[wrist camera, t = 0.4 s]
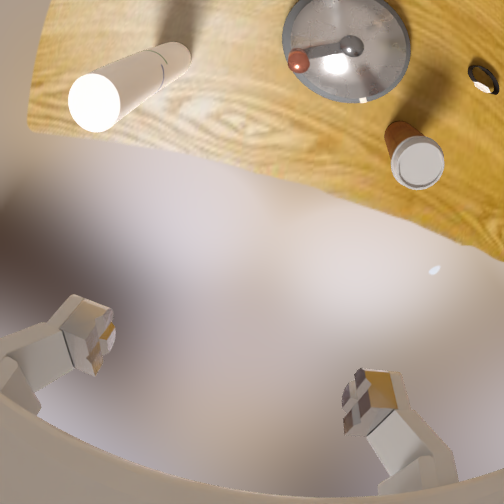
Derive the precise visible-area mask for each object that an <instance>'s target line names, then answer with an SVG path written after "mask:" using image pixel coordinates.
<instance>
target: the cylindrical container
mask: <svg viewBox="0 0 504 504" xmlns="http://www.w3.org/2000/svg"><path fill="white" fill-rule="evenodd" d="M190 64H191V55H190V52H189V50H188V49H187V48H186V47H185V46H184V45H183V44H181V43H178V42H168V43H164V44H161V45H158V46H155V47H152V48H149V49H146V50H143V51H141V52H138V53H135V54H132V55H130V56H127V57H125V58H122V59H119V60H117V61H115V62H112V63H110V64H107V65H105V66H103V67H100V68H98V69H96V70H94V71H92V72H89V73H87V74H85V75H83V76H81V77H80V78H78V79H77V80H76V81H75V82H74V84H73V85H72V87H71V89H70V92H69V97H68V104H69V110H70V113H71V115H72V117H73V119H74V120H75V122H76V123H77V124H78V125H79V126H81V127H82V128H83V129H85V130H87V131H91V132H103V131H105V130H107V129H109V128H111V127H112V126H113V125H114V124H115V123H117V122H118V121H119V120H120V119H122V118H123V117H124V116H125V115H127V114H128V113H129V112H131V111H132V110H133V109H134V108H136V107H137V106H138V105H140V104H141V103H142V102H144V101H145V100H147V99H148V98H149V97H151V96H152V95H154V94H155V93H156V92H158V91H159V90H161V89H162V88H164V87H165V86H167V85H168V84H169V83H171V82H173V81H174V80H176V79H177V78H179V77H180V76H182V75H183V74H184V73H186V72H187V70H188V69H189V67H190Z"/></svg>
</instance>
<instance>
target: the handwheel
mask: <svg viewBox="0 0 504 504" xmlns="http://www.w3.org/2000/svg"><path fill="white" fill-rule="evenodd" d="M405 60H406V42H405V37H404V34H403V31H402V29H401V27H400V25H399V24H398V22H397V20H396V19H395V18H394V16H393V15H392V14H391V13H390V12H389V11H388V10H387V9H386V8H385V7H383V6H382V5H381V4H379V3H378V2H376V1H374V0H313V1H311V2H310V3H309V4H307V5H306V6H305V7H304V8H303V9H302V10H301V11H300V13H299V14H298V16H297V17H296V19H295V21H294V24H293V27H292V31H291V51H290V52H289V56H288V66H289V68H290V70H291V71H293V72H295V73H303V74H304V76H305V77H306V78H307V79H308V80H309V81H310V82H311V83H313V84H314V85H315V86H317V87H318V88H320V89H321V90H323V91H325V92H327V93H329V94H332V95H335V96H339V97H343V98H365V97H370V96H373V95H376V94H378V93H380V92H382V91H384V90H385V89H387V88H388V87H389V86H391V85H392V84H393V83H394V82H395V80H396V79H397V78H398V77H399V75H400V73H401V72H402V69H403V67H404V64H405Z"/></svg>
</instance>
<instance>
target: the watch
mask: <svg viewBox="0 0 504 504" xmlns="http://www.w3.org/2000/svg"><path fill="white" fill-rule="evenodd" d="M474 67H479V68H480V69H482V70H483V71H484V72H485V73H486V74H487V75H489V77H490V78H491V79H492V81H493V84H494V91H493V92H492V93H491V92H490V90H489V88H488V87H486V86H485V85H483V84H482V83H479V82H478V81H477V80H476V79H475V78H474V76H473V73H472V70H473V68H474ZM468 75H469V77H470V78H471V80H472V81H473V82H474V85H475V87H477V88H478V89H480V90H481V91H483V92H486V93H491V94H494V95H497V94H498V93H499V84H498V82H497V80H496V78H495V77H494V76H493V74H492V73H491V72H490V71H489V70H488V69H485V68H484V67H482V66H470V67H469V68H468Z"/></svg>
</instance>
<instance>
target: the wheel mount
mask: <svg viewBox="0 0 504 504" xmlns="http://www.w3.org/2000/svg"><path fill="white" fill-rule="evenodd" d="M311 1H313V0H299V1H298V2H297V3H296V5H295V6H294V7H293V8H292V10H291V11H290V12H289V14H288V16H287V18H286V21H285V24H284V27H283V33H282V44H283V50H284V54H285V58H286V60H287V62H288V56H289V52H290V51H291V31H292V27H293V24H294V21H295V19H296V17H297V16H298V14H299V13H300V11H301V10H302V9H303V8H304V7H305V6H306V5H307V4H309V3H310V2H311ZM374 1H376V2H378V3H379V4H381V5H382V6H383V7H385V8H386V9H387V10H388V11H389V12H390V13H391V14H392V15H393V16H394V18H395V19H396V20H397V22H398V24H399V25H400V27H401V29H402V31H403V34H404V37H405V42H406V60H405V64H404V67H403V69H402V72H401V73H400V75H399V77H398V78H397V79H396V80H395V82H394V83H393V84H392V85H391V86H389V87H388V88H387V89H385V90H384V91H382V92H380V93H378V94H376V95H373V96H370V97H365V98H343V97H339V96H335V95H332V94H329V93H327V92H325V91H323V90H321V89H320V88H318V87H317V86H315V85H314V84H313V83H311V82H310V81H309V80H308V79H307V78H306V77H305V76H304V74H303V73H295V72H293V73H294V74H295V75H296V77H297V78H298V79H299V80H300V81H301V82H302V83H303V84H304V85H305V86H307V87H308V88H309V89H310V90H312V91H313V92H315V93H317V94H319V95H321V96H323V97H325V98H328V99H330V100H334V101H338V102H344V103H365V102H367V101H372V100H374V99H377V98H380V97H382V96H384V95H385V94H387V93H388V92H390V91H391V90H392V89H393V88H394V87H396V86H397V84H398V83H399V82H400V81H401V79H402V78H403V76H404V75H405V72H406V70H407V68H408V64H409V61H410V40H409V36H408V33H407V30H406V28H405V25H404V23H403V22H402V20H401V18H400V17H399V15H398V14H397V13H396V12H395V10H394V9H393V8H392V7H391V6H390V5H389V4H387V3H386V2H385V1H384V0H374Z"/></svg>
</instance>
